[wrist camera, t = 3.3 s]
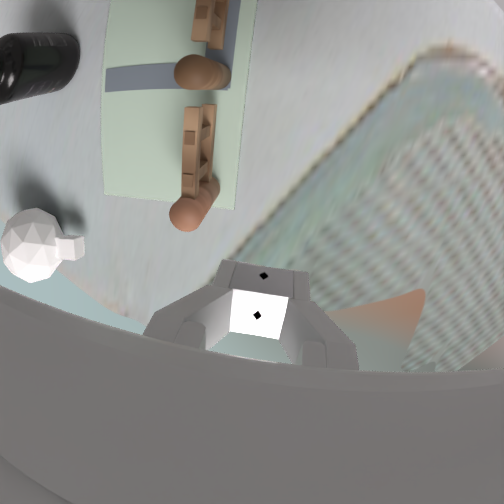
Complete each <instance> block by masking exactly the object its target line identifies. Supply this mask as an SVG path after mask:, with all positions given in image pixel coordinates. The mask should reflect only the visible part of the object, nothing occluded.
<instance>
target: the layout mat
mask: <svg viewBox="0 0 504 504" xmlns="http://www.w3.org/2000/svg"><path fill="white" fill-rule="evenodd" d="M257 1H258V0H230V1H229V8H228V15H227V22H226V30H225V38H224V46H223V50H211V49H209V48H207V47H208V42H194V41H192V40H191V34H192V26H193V19H194V11H195V5H196V0H111V3H110V9H109V15H108V22H107V29H106V37H105V46H104V56H103V69H102V88H101V149H102V168H103V182H104V194H105V195H112V196H122V197H132V198H141V199H150V200H159V201H168V202H176V201H177V200H178V199H179V198H180V197H181V176H182V145H183V124H184V108H185V107H189V106H194V107H202V104H217V114H216V126H215V139H214V152H213V167H212V177H214V178H215V179H216V180H217V181H218V182H219V184H220V193H219V195H218V197H217V198H216V200H215V201H214V203H213V205H212V206H211V207H215V208H223V209H230V210H234V209H235V198H236V187H237V176H238V166H239V156H240V146H241V136H242V126H243V117H244V108H245V99H246V90H247V81H248V72H249V64H250V55H251V47H252V39H253V31H254V24H255V16H256V8H257ZM191 54H197V55H201V56H203V57H206V58H209V59H211V60H214V61H216V62H219V63H221V64H224V65H226V66H227V67H228V68H229V69H230V71H231V80H230V83H229V84H228V85H227V86H226V87H225V88H223V89H220V90H187V89H184V88H182V87H180V86H179V85H178V84H177V83H176V81H175V79H174V68H175V66H176V64H177V62H178V61H179V60H180V59H181V58H183V57H185V56H187V55H191Z"/></svg>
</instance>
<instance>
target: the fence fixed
mask: <svg viewBox="0 0 504 504" xmlns="http://www.w3.org/2000/svg"><path fill="white" fill-rule="evenodd" d="M229 1H230V0H196V5H195V11H194V19H193V26H192V34H191V40H192V41H194V42H208V47H207V48H209V49H211V50H223V46H224V38H225V30H226V22H227V15H228V8H229ZM174 79H175V81H176V83H177V84H178V85H179V86H180V87H182V88H184V89H187V90H220V89H223V88H225V87H226V86H227V85H228V84H229V83H230V80H231V71H230V69H229V68H228V67H227V66H226V65H224V64H221V63H219V62H216V61H214V60H211V59H209V58H206V57H203V56H201V55H197V54H191V55H187V56H185V57H183V58H181V59H180V60H179V61H178V62H177V64H176V66H175V68H174Z"/></svg>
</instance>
